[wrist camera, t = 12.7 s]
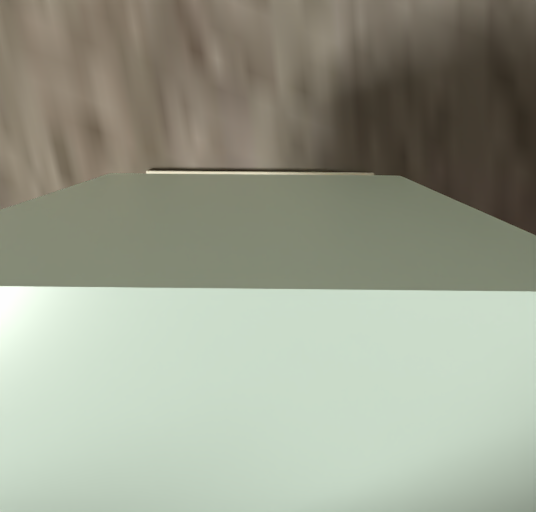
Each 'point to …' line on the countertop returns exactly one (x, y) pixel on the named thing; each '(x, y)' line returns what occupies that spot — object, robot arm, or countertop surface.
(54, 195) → the mint green rectangular block
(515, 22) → the countertop surface
